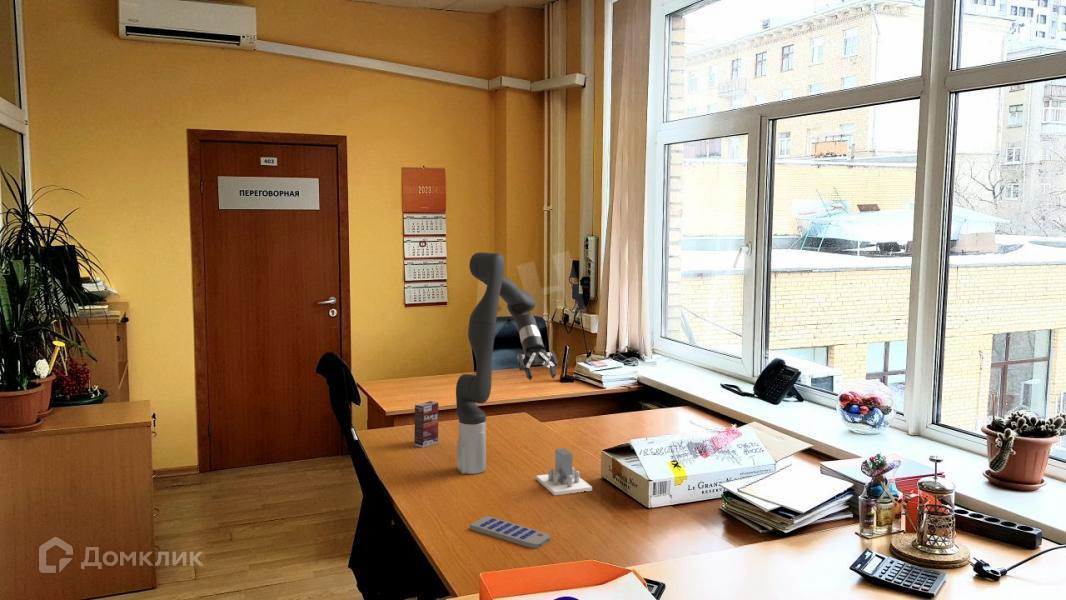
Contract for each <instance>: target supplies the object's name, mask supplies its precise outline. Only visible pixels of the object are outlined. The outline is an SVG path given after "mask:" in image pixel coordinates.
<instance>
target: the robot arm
mask: <svg viewBox="0 0 1066 600" xmlns="http://www.w3.org/2000/svg"><path fill="white" fill-rule="evenodd" d="M468 265H469V266H468V267H469V270H470V273H471V275H472V277H474V278H476V280H478V281H480V282H482V283H483V284H485V285H486V288H485V292H484V295H483V296H482V298H481V299H480V300H479V302H478V303H477V304H476V306H475V307H474V309H473V310H472V312H471V313H470V316H469V321H468V327H467V328H468V330H467V338H468V341H469V344H470V347H471V349H472V351H473V354H474V357H475V361H476V362H475V363H476V374H470V373H464V374H461V375H460V376H459V378H458V379H457V381H456V385H455V401H456V414H457V416H458V441H457V442H456V447H457V448H456V463H457V464H456V470H458V471H459V472H460V473H461V475H462V474H463V475H464V474H469V475H470V474H471V475H473V474H480V473H483V472H485V471H486V468H487V467H486V465H487V461H486V460H487V457H486V455H487V454H486V452H487V451H486V450H487V449H486V448H487V446H486V445H487V444H486V443H487V440H486V439H487V436H486V435H487V434H486V433H487V430H486V429H487V421H486V420H487V418H486V417H487V416H486V412H484V410H482V409H481V408H480V407H478V405H477V404H485V403H486V402H487V401H488V400H489V398H490V396H491V391H492V382H493V381H492V378H493V377H492V376H493V375H492V370H493V354H494V353H493V352H494V344H495V337H496V328H497V320H498V319H497V315H498V307H499V300H500V298H501V299H502V300H503V301H504V302H505V303H506V309H507V310H508V313H510V316H512V318H513V319H514V322H515V323H516V326H517V329H518V333H519V338H520V343H521V346H522V350H523V354H522V352H519V353H518V354H517V357H516V359H517V364H518V365H517V366H518V369H519V371H524V372H525V375H526V379H528V380H529V381H531V380H533V374H532V370H531V366H532V365H533V366H537V365H538V366H544V367H546V368H547V369H549V373H550V374H549V375H550V377H551V379H554V378H555V377H556V375H557V372H556V369H557V367H558V365H559V361H558V359H557V355H556V353H555V351H554V350H551V351H550V352H547V351H546V350H545V344H544V341H543V338H542V335H541V332H540V330H539V327H538V325H537V321H536V318H535V315H534V314H531V313H529V312H532V311H533V310H534V309H535V307H536V300H535V298H534V297H533V295H532V294H531V293H530V292H528V291H526V290H524V289H521V288H520V287H518V285H517V284H516V283H515V282H514V281H513V280H511V279H510V278H508V277H506V276H504V274H505V267H506V266H505V265H506V264H505V258H504V256H503V254H501V253H498V252H497V253H495V252H484V251H483V252H475V253H474V254H473V255H472V256H471V257H470V260H469V264H468ZM524 359H525V360H526V361H527V363H526V365H525V364H524Z"/></svg>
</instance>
